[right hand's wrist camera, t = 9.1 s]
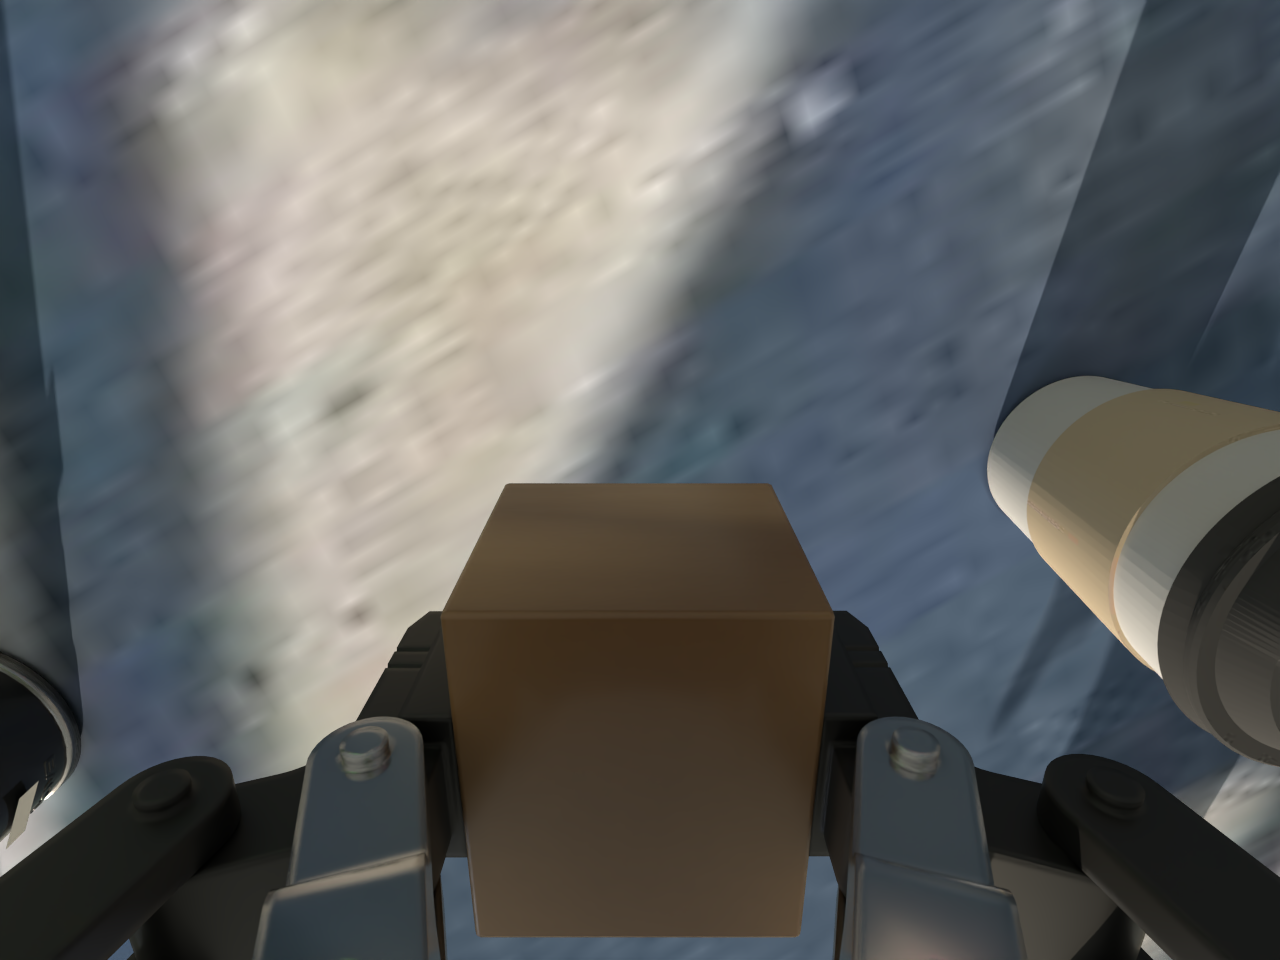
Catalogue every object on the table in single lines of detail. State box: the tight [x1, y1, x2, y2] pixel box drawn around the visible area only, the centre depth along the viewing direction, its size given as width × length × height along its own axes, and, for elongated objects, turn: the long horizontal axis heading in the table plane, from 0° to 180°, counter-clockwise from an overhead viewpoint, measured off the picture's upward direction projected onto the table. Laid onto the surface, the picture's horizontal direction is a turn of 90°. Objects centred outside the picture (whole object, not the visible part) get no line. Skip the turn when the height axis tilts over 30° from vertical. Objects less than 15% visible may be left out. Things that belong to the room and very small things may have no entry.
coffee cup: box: [987, 376, 1280, 767], centre depth 23 cm, size 9×9×15 cm
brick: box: [441, 483, 835, 937], centre depth 11 cm, size 4×5×4 cm
